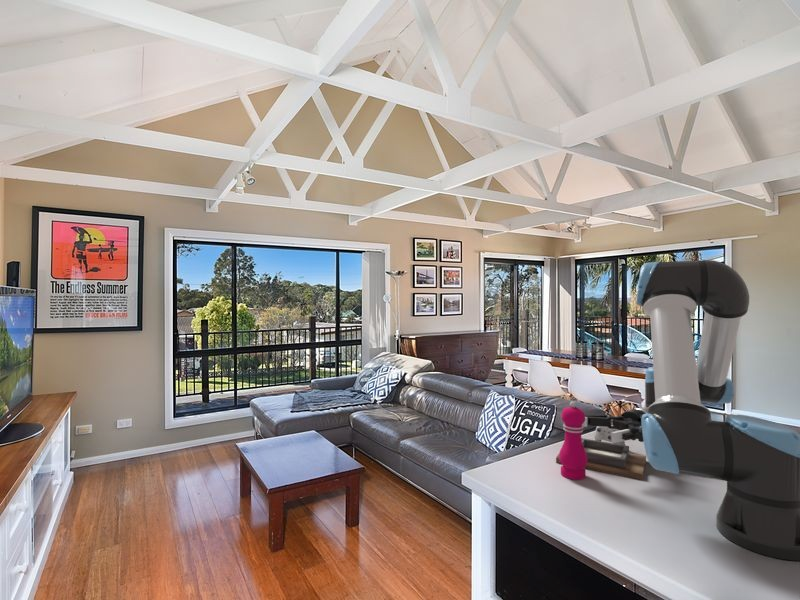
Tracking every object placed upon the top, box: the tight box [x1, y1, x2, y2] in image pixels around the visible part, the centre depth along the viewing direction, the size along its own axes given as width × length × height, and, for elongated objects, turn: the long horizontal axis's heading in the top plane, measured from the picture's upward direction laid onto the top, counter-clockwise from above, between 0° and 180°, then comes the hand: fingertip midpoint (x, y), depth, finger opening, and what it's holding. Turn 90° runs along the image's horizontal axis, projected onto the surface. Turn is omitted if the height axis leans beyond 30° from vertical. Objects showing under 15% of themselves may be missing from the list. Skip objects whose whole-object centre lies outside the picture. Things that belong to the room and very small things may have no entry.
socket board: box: [555, 437, 647, 481], centre depth 125 cm, size 16×22×4 cm
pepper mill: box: [558, 400, 588, 481], centre depth 115 cm, size 7×7×20 cm
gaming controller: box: [593, 426, 626, 445], centre depth 138 cm, size 10×4×7 cm, turn 33°
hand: (590, 430), depth 119 cm, fingers open, 13 cm apart
